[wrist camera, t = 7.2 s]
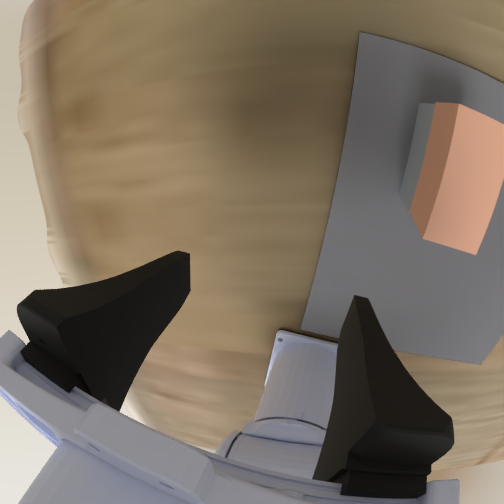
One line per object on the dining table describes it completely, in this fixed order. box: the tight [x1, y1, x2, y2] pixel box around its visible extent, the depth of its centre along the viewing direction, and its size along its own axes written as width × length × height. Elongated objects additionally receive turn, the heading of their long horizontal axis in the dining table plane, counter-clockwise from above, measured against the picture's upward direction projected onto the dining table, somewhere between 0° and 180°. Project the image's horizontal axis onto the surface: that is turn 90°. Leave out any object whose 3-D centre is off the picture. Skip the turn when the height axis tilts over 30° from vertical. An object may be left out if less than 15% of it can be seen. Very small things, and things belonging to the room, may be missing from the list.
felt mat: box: [300, 32, 504, 365], centre depth 18 cm, size 24×20×1 cm
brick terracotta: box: [409, 102, 504, 255], centre depth 12 cm, size 6×3×4 cm, turn 174°
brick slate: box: [399, 103, 435, 213], centre depth 15 cm, size 6×3×4 cm, turn 174°
